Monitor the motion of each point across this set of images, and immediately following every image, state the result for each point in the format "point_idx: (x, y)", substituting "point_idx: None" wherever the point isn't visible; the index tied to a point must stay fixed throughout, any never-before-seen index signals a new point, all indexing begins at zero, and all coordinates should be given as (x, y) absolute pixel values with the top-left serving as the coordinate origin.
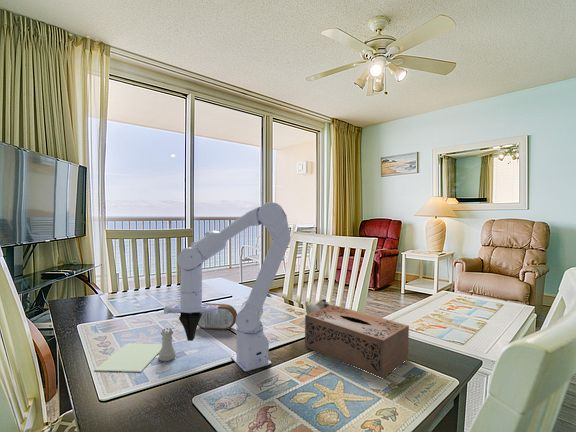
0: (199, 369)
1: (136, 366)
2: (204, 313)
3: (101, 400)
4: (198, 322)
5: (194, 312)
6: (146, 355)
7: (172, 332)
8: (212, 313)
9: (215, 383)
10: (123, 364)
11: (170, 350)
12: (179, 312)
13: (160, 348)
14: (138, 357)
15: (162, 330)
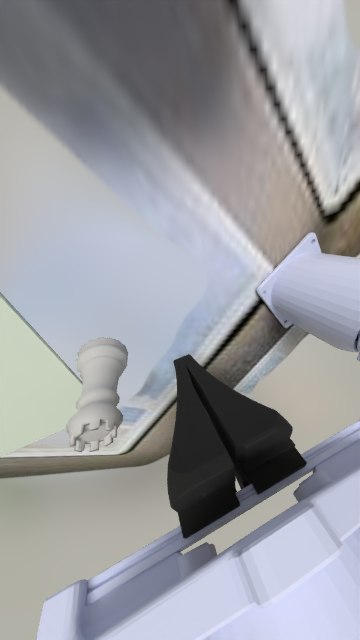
0: (207, 352)
1: (76, 409)
2: (315, 451)
3: (122, 453)
4: (231, 389)
5: (270, 490)
6: (35, 376)
7: (118, 414)
8: (354, 431)
9: (245, 366)
10: (34, 421)
11: (121, 373)
12: (175, 540)
13: (22, 329)
14: (26, 391)
15: (81, 450)
